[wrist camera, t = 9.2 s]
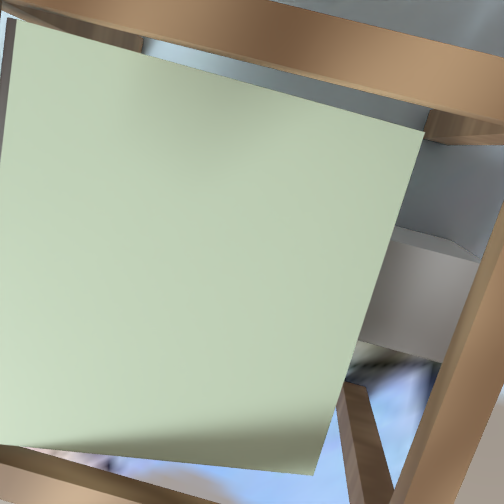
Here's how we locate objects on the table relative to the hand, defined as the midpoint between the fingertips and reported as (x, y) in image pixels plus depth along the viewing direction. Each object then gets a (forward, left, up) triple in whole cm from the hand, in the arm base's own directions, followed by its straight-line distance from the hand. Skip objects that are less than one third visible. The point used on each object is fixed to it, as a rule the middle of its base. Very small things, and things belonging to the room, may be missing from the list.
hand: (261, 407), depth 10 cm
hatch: (-3, 0, -7) cm, 8 cm away
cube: (+7, 0, -12) cm, 14 cm away
